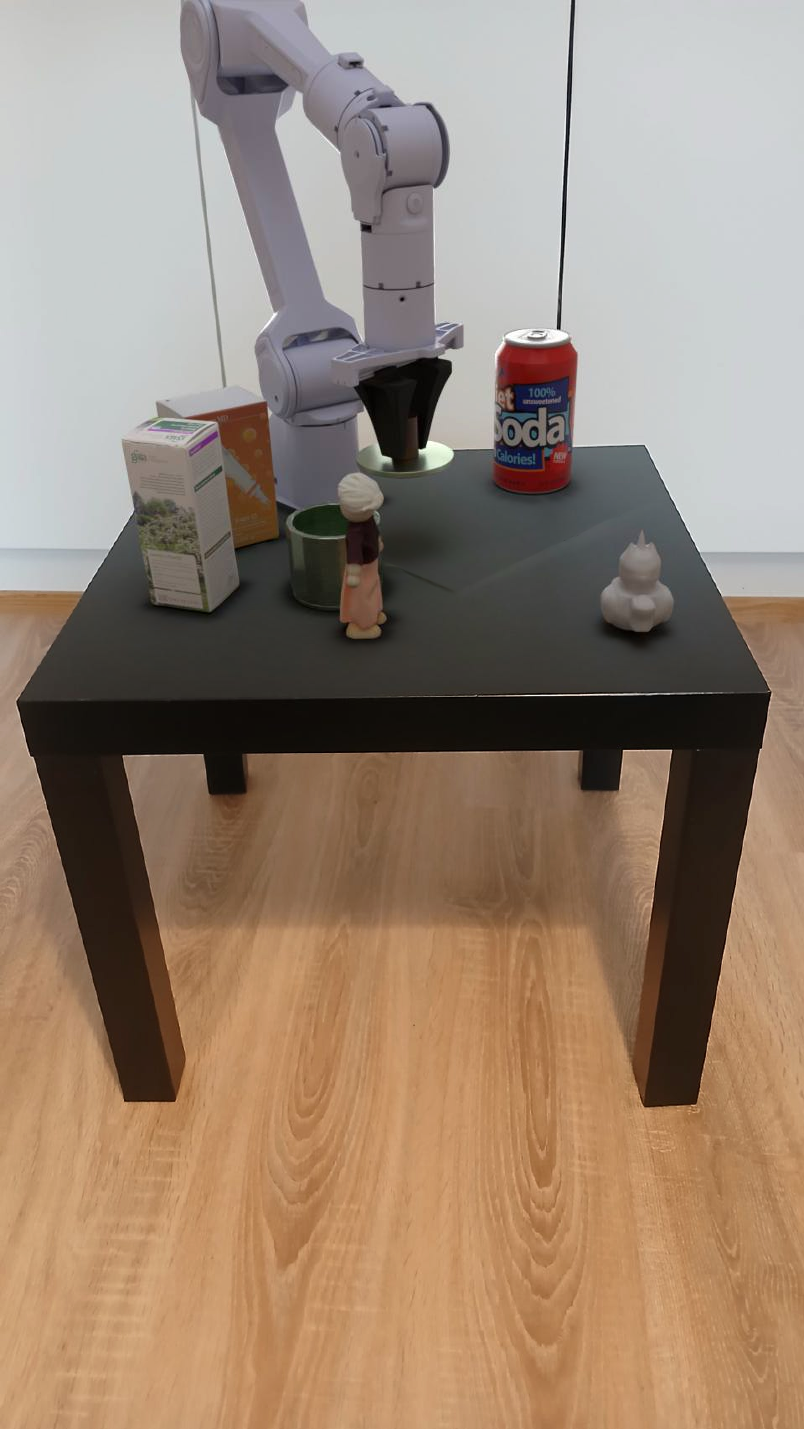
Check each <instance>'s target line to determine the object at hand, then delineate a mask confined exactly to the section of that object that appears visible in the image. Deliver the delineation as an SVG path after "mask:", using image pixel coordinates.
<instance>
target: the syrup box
mask: <svg viewBox="0 0 804 1429" xmlns="http://www.w3.org/2000/svg"><path fill="white" fill-rule="evenodd" d="M120 439H121V448H122V453H123V457H124V463H125V468H126V473H127V478H128V483H129V488H130V494H131V499H132V500H131V501H132V505H133V511H134V516H135V522H136V526H137V534H138V537H139V543H140V548H141V553H142V560H143V565H144V569H145V574H146V580H147V585H148V592H149V597H150V601H151V604H152V605H153V606H160V607H161V606H162V607H168V608H169V607H170V608H174V609H175V608H176V609H181V610H182V609H183V610H189V611H196V612H202V613H203V612H204V613H212V612H213V611H214V610H215V609H216V608H217V607H219V606H220V605H221V604H222V603H223V602H224V601H225V600H226V599H227V598H229V596H230V595H231V594H232V593H234V592H235V590H236V589H238V587H240V576H239V569H238V564H237V558H236V552H235V548H234V543H233V536H232V528H231V520H230V513H229V505H228V497H227V488H226V480H225V471H224V463H223V455H222V447H221V440H220V433H219V427H218V423H217V422H211V421H199V420H188V419H175V418H162V417H158V416H156V417H152V418H151V419H148V420H146V421H144V422H142V423H140V424H139V425H137V426H136V427H134V428H133V429H131V430H130V431H129V432H128V433H127V434H125V435H124V436H123V437H121V438H120Z"/></svg>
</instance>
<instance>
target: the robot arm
mask: <svg viewBox="0 0 804 1429" xmlns="http://www.w3.org/2000/svg"><path fill="white" fill-rule="evenodd" d="M179 34H180V36H179V37H180V38H179V39H180V40H179V41H180V43H179V44H180V53H181V57H182V62H183V64H184V67H185V72H186V75H187V77H188V80H189V84H190V87H191V91H192V94H193V98H194V100H195V101H196V104H197V108H198V111H199V114H200V116H201V117H203V118H204V119H206V120H207V121H209V122H211V123H212V124H214V125H215V126H216V128H217V132H218V135H219V138H220V142H221V145H222V148H223V151H224V155H225V158H226V161H227V165H228V168H229V171H230V175H231V178H232V182H233V185H234V188H235V191H236V194H237V198H238V201H239V205H240V208H241V211H242V214H243V218H244V222H245V225H246V228H247V231H248V234H249V238H250V241H251V244H252V248H253V251H254V254H255V258H256V261H257V264H258V267H259V272H260V275H261V278H262V282H263V285H264V288H265V290H266V294H267V298H268V301H269V305H270V308H271V311H272V314H273V315H272V316H271V318H270V319H269V321H268V322H267V323H266V325H265V326H264V327H263V328H262V330H261V331H260V332H259V334H258V335H257V338H256V339H255V343H254V347H253V348H254V354H255V359H256V363H257V364H256V365H257V370H258V382H259V388H260V393H261V395H262V396H261V397H262V398H263V399H265V400H266V401H267V407H268V410H270V412H272V413H271V414H270V416H269V417H268V418H269V429H270V439H271V450H272V462H273V472H274V483H275V493H276V502H279V503H281V504H284V505H285V506H288V507H291V508H293V509H295V510H298V509H301V508H304V507H307V506H310V505H314V504H319V503H325V502H340V498H339V497H338V484H339V483H340V482H341V480H342V479H343V478H344V477H346V476H347V475H348V474H351V473H358V472H359V473H361V469H359V468H358V466H357V464H356V455H357V454H358V452H359V451H360V439H359V421H358V420H359V418H358V414H360V413H363V412H365V410H366V412H367V414H368V417H369V420H370V422H371V425H372V429H373V431H374V434H375V438H376V440H377V443H378V444H379V448H380V451H381V454H382V456H386V457H389V458H393V459H397V460H400V459H402V458H404V457H405V452H406V446H407V421H408V413H409V411H413V412H416V413H417V414H418V435H419V449H420V450H422V449H425V448H426V446H427V442H428V441H429V439H430V438H429V437H430V433H431V430H432V425H433V424H432V423H433V420H434V416H435V412H436V409H437V407H438V406H437V405H438V402H439V400H440V397H441V395H442V393H443V390H444V388H445V386H446V385H447V382H448V380H449V379H450V377H451V375H452V373H453V362H452V361H451V360H449V359H445V358H439V357H441V356H443V355H445V354H446V351H447V350H450V349H451V350H460V349H462V348H464V344H465V343H464V342H465V341H464V337H465V336H464V335H465V333H464V332H465V331H464V328H465V327H464V326H465V324H464V323H459V322H452V321H441V322H439V323H437V322H436V252H435V251H436V247H435V245H436V244H435V242H436V241H435V238H436V237H435V236H436V235H435V190H436V189H438V188H439V187H440V186H441V185H442V184H443V183H444V180H445V178H446V176H447V174H448V170H449V166H450V159H451V144H450V136H449V131H448V127H447V125H446V123H445V120H444V118H443V116H442V115H441V113H440V112H439V111H438V110H437V108H436V106H435V104H433V103H432V102H431V101H418V102H415V103H413V104H412V103H410V102H409V103H408V102H407V103H405V102H403V100H401V99H400V98H399V97H398V96H397V94H395V91H394V89H393V88H391V86H389V85H388V84H384V83H383V81H381V80H380V79H379V78H377V77H376V75H375V74H373V73H372V72H371V71H370V70H369V69H368V68H367V67H366V66H365V65H364V62H365V60H364V58H363V57H362V56H361V55H360V54H359V53H358V52H357V51H351V52H339V53H335V54H331V53H330V52H329V51H328V50H327V48H326V47H325V46H324V45H323V43H322V42H321V41H320V40H319V39H318V38H317V36H316V35H315V34H314V33H313V31H312V30H311V29H310V28H309V21H308V15H307V9H306V6H305V3H304V2H303V1H301V0H184V3H183V4H182V7H181V11H180V16H179ZM297 93H299V95H301V96H302V109H303V112H304V115H305V118H306V119H307V121H308V123H309V124H310V125H311V126H312V127H313V128H314V129H315V130H316V131H317V132H318V134H320V135H321V136H322V137H323V138H324V139H325V140H326V141H327V142H328V143H329V144H330V146H332V148H334V150H336V152H337V153H338V154H339V156H340V163H341V168H342V172H343V176H344V179H345V181H346V185H347V187H348V191H349V195H350V202H351V203H350V209H351V212H352V214H353V219H354V221H358V222H359V242H360V263H361V264H360V265H361V281H362V282H361V283H362V284H361V286H362V304H363V305H362V306H363V328H364V339H363V338H362V335H361V333H360V331H359V328H358V325H357V322H356V320H355V317H354V316H353V315H351V314H349V313H348V312H347V311H345V310H343V309H342V308H341V307H338V306H337V305H335V304H333V303H331V302H329V301H328V300H327V299H326V297H325V294H324V290H323V287H322V284H321V280H320V277H319V274H318V270H317V267H316V263H315V259H314V257H313V252H312V249H311V246H310V242H309V239H308V236H307V233H306V229H305V226H304V221H303V219H302V216H301V213H300V209H299V205H298V202H297V198H296V195H295V192H294V188H293V185H292V182H291V179H290V175H289V171H288V168H287V164H286V161H285V157H284V154H283V151H282V148H281V144H280V140H279V137H278V134H277V131H276V125H277V121H278V120H280V119H281V118H282V117H283V116H285V115H286V114H287V113H288V112H290V111H291V110H292V109H293V106H294V102H295V98H296V94H297Z"/></svg>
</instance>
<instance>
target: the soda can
mask: <svg viewBox="0 0 804 1429" xmlns="http://www.w3.org/2000/svg"><path fill="white" fill-rule="evenodd" d="M572 338H573V337H572V334H571V332H568V331H566V330H562V329H557V328H549V327H526V328H518V329H515V330H514V329H513V330H510V331H507V332H505V333H504V334H503V335H502V343H501V345H500V346H499V347H498V349H497V350H496V352H495V357H494V397H493V400H494V401H493V402H494V404H493V405H494V406H493V409H494V410H493V454H492V456H493V457H492V458H493V459H492V460H493V461H492V462H493V463H492V470H493V471H492V477H493V481H494V482H495V484H496V485H497V486H498V487H500V488H501V489H503V490H506V491H508V492H511V493H515V494H522V495H543V494H544V495H545V494H550V493H554V492H557V491H560V490H561V489H564V488H565V487H566V486H567V485H568V484H569V483H570V481H571V478H572V461H573V444H574V428H575V413H576V412H575V410H576V397H577V396H576V394H577V379H578V378H577V377H578V365H579V364H578V362H579V354H578V351H577V349H576V348H575V346H574V344H573V343H572Z"/></svg>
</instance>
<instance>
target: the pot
mask: <svg viewBox="0 0 804 1429" xmlns="http://www.w3.org/2000/svg"><path fill="white" fill-rule="evenodd" d="M372 516H373V518H374V519H375V522H376V524H377V527H378V529H379V531H380V537H381V538H382V531H381V530H382V529H381V528H382V527H381V515H380V514H379V512H378V511H377V510H374V512H373V514H372ZM349 521H350V520H348V519H346V518H345V516H344V515H343V514H342V511H341V508H340V502H325V503H319V504H314V505H310V506H307V507H304V508H301V509H295V511H294V512H292V513H291V514H289V515H288V516H287V519H286V522H285V532H286V534H285V535H286V543H287V544H286V545H287V554H288V563H289V574H290V585H291V592H292V596H293V597H294V599H295V600H296V602H298V603H299V604H300V605H302V606H304V607H307V608H309V609H314V610H318V611H326V612H328V611H329V612H340V603H341V592H342V586H343V580H344V572H345V567H346V563H347V550H346V541H345V535H346V531H347V528H348V524H349ZM382 552H383V550H382V551H381V552H379V555H378V575H379V579H380V588H381V594H382V592H383V588H384V587H383V583H384V578H383V574H384V573H383V555H382Z"/></svg>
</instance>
